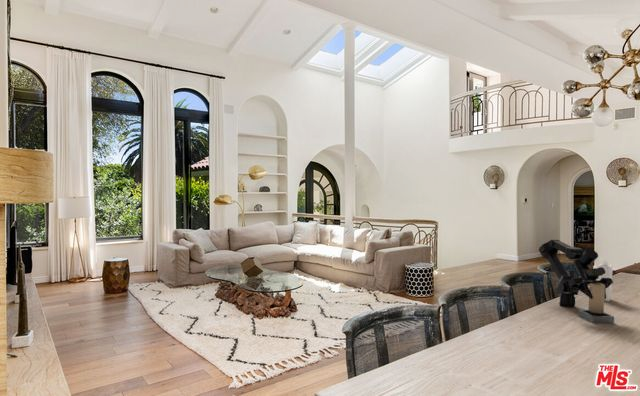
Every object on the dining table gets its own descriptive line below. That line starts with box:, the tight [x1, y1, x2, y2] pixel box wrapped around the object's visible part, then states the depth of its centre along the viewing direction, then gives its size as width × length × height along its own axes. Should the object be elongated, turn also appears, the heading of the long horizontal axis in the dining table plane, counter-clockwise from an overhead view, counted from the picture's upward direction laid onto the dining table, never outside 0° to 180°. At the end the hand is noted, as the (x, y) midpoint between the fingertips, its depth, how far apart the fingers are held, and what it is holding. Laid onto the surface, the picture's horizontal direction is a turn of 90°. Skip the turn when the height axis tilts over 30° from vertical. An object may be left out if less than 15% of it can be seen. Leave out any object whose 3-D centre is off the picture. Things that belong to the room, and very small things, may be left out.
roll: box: [587, 283, 605, 313], centre depth 193 cm, size 6×6×13 cm
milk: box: [596, 259, 613, 302], centre depth 229 cm, size 6×6×22 cm
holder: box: [578, 309, 615, 324], centre depth 194 cm, size 10×10×3 cm
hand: (598, 298), depth 192 cm, fingers closed on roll, 6 cm apart
